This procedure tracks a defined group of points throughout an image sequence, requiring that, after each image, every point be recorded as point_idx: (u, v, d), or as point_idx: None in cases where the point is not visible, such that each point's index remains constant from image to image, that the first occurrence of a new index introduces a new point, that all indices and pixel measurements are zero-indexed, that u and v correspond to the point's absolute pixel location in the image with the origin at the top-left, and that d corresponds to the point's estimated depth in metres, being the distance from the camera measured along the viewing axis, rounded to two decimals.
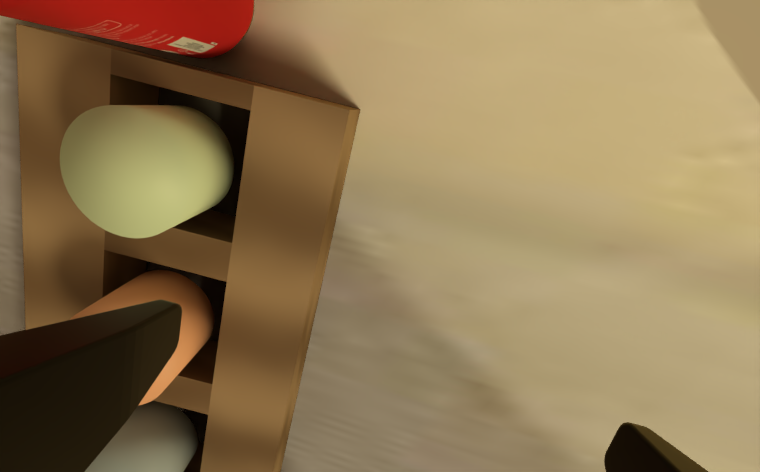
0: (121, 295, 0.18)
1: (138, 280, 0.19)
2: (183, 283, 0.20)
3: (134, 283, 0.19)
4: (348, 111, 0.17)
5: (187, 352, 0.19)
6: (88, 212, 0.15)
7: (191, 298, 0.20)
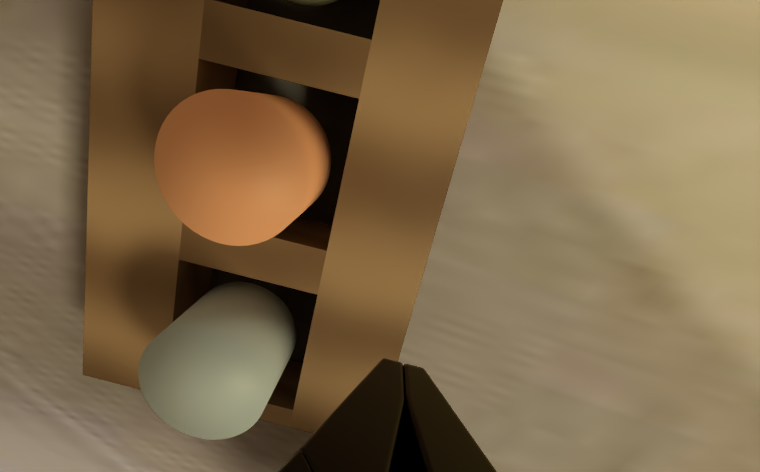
0: None
1: None
2: (299, 106, 0.15)
3: None
4: None
5: (316, 179, 0.14)
6: None
7: (312, 121, 0.15)
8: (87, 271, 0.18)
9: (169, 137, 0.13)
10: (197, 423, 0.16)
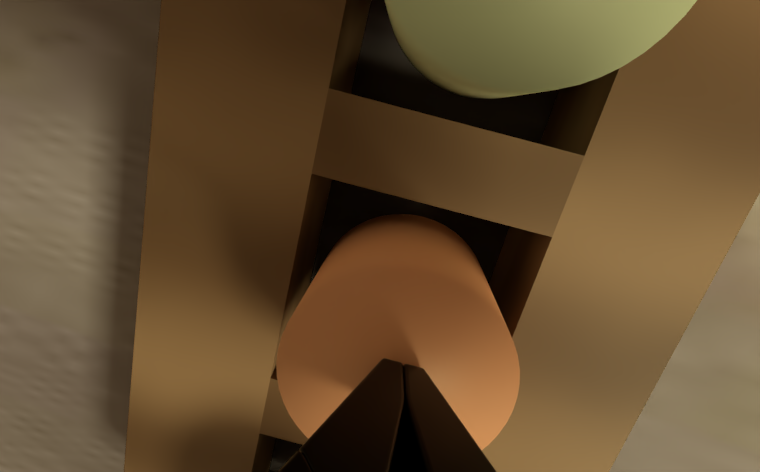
0: (398, 246, 0.09)
1: (387, 226, 0.10)
2: (455, 236, 0.11)
3: (388, 230, 0.10)
4: None
5: None
6: (419, 18, 0.06)
7: (477, 263, 0.11)
8: (129, 441, 0.13)
9: (304, 329, 0.08)
10: None
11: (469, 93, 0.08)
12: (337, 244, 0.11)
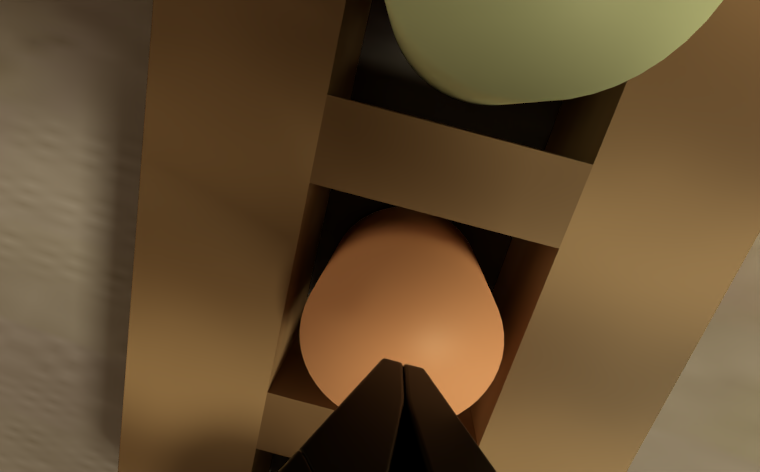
0: (401, 232, 0.10)
1: (392, 217, 0.12)
2: (451, 226, 0.12)
3: (392, 220, 0.11)
4: None
5: None
6: (422, 24, 0.06)
7: (470, 249, 0.12)
8: (121, 456, 0.12)
9: (323, 300, 0.10)
10: None
11: (474, 100, 0.08)
12: (348, 233, 0.13)
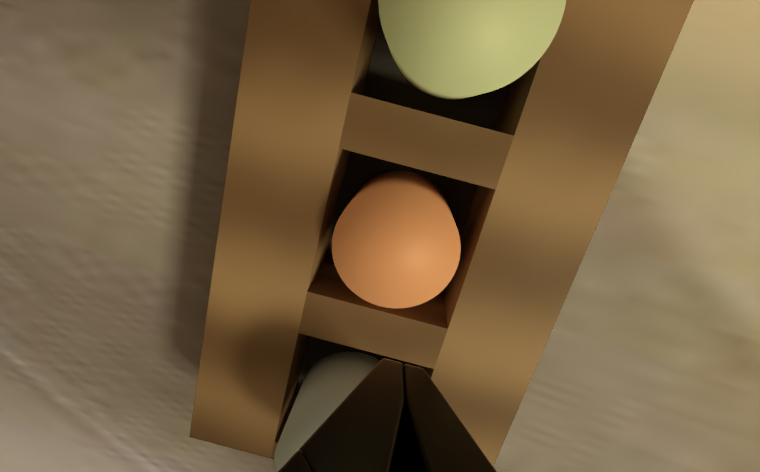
0: (396, 180, 0.16)
1: (390, 175, 0.17)
2: (431, 183, 0.18)
3: (391, 176, 0.17)
4: None
5: None
6: (405, 57, 0.11)
7: (444, 197, 0.18)
8: (205, 341, 0.18)
9: (347, 222, 0.15)
10: None
11: (438, 95, 0.14)
12: (360, 188, 0.18)
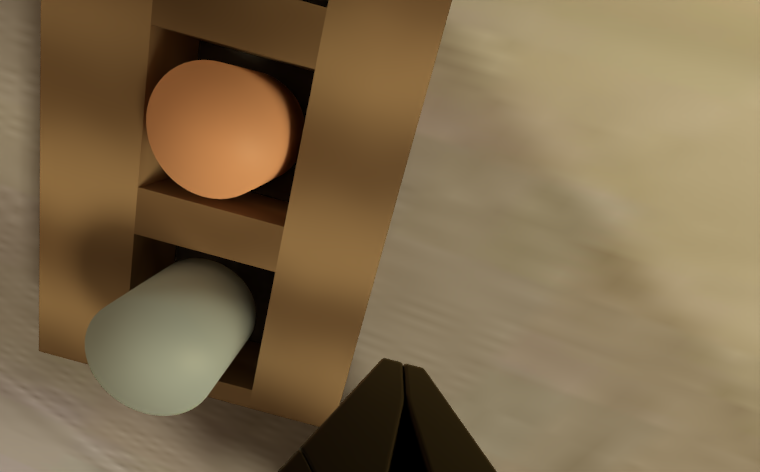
0: None
1: None
2: (276, 80, 0.17)
3: None
4: None
5: (288, 144, 0.16)
6: None
7: (287, 94, 0.17)
8: (41, 244, 0.17)
9: (159, 101, 0.15)
10: (146, 398, 0.15)
11: None
12: None
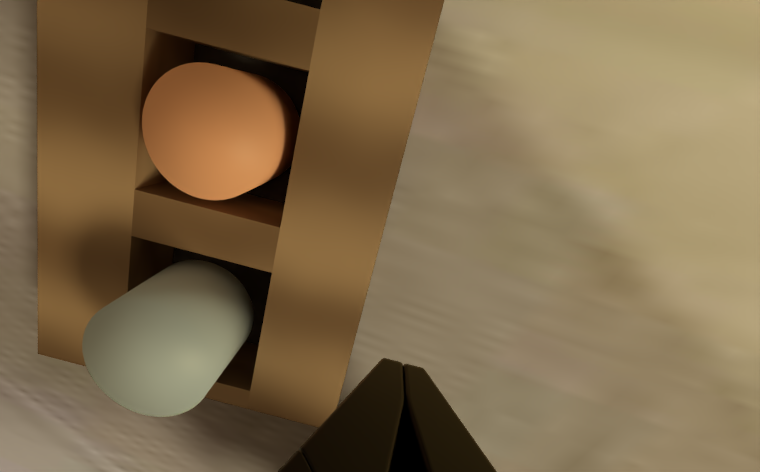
0: None
1: None
2: (272, 82, 0.17)
3: None
4: None
5: (283, 145, 0.16)
6: None
7: (282, 96, 0.17)
8: (39, 247, 0.18)
9: (155, 104, 0.15)
10: (143, 400, 0.15)
11: None
12: None
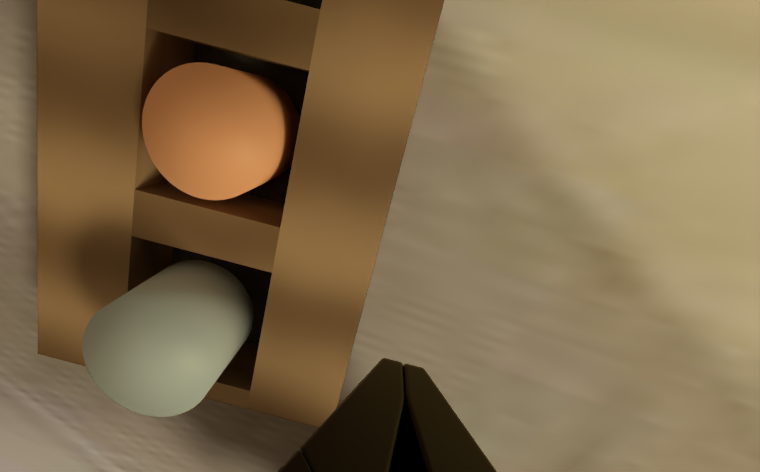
0: None
1: None
2: (272, 82, 0.17)
3: None
4: None
5: (283, 145, 0.16)
6: None
7: (282, 96, 0.17)
8: (39, 247, 0.18)
9: (155, 104, 0.15)
10: (143, 400, 0.15)
11: None
12: None
